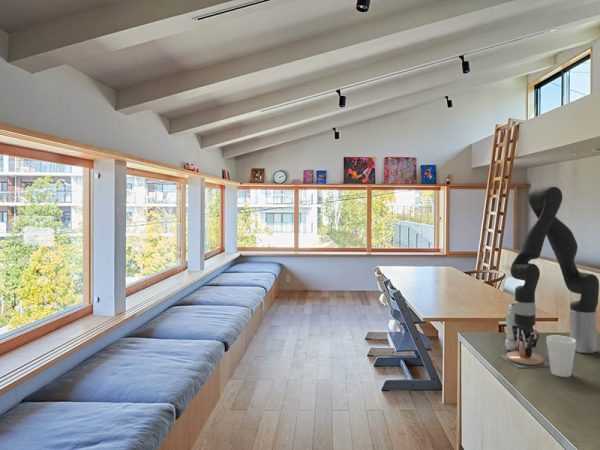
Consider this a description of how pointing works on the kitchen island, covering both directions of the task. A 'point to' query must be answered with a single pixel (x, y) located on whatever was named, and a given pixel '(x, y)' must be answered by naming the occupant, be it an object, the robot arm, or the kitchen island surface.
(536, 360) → the lid
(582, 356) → the kitchen island surface
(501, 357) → the mat
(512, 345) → the plastic bottle
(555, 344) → the foam cup
